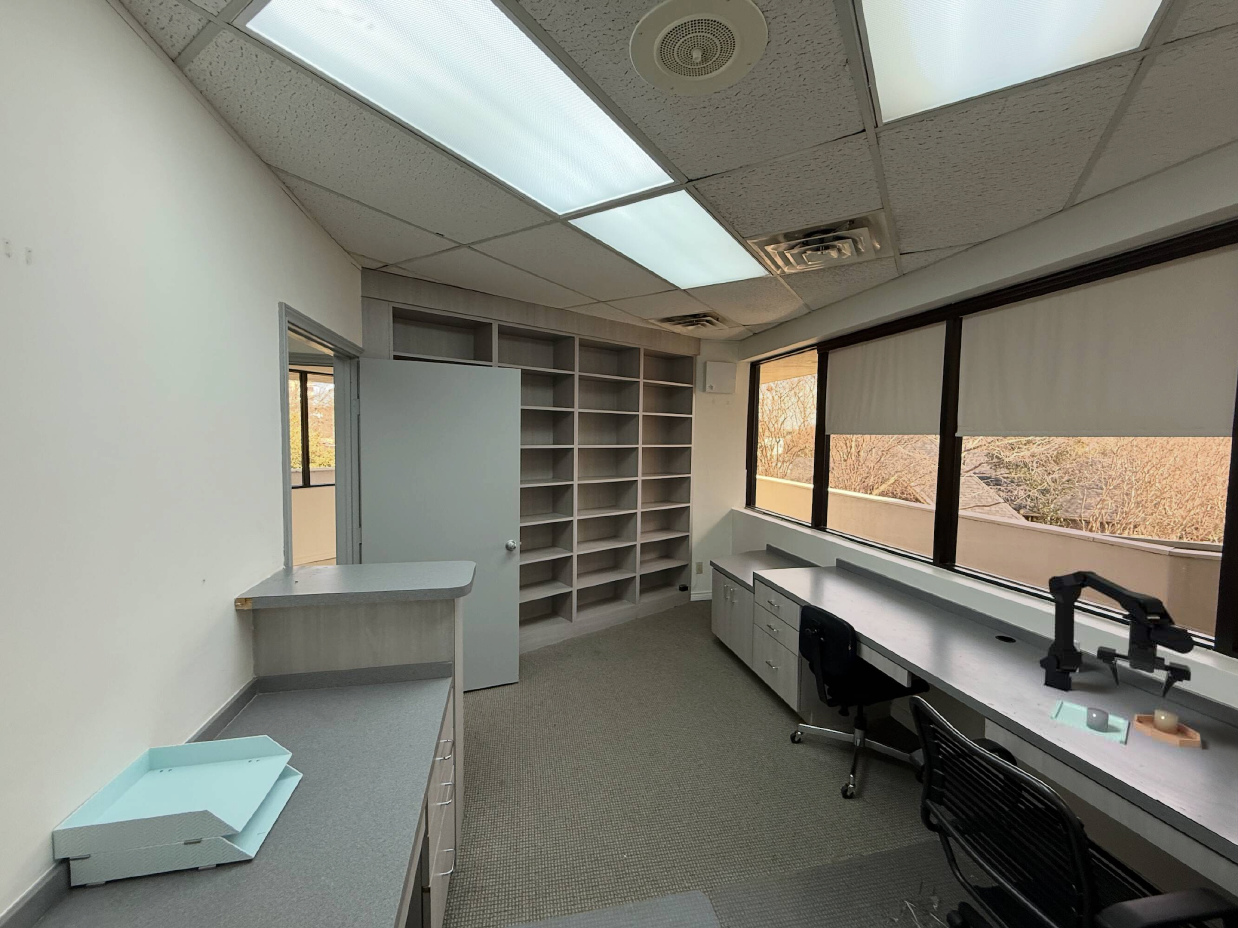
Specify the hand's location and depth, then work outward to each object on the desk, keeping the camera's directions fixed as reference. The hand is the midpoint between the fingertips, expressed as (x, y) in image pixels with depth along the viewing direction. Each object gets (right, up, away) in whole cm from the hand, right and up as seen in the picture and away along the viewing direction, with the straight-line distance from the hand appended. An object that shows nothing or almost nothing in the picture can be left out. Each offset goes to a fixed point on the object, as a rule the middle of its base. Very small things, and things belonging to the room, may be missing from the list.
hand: (1139, 690), depth 144 cm
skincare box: (+16, -11, +41) cm, 45 cm away
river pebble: (+8, -12, 0) cm, 14 cm away
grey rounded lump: (-12, -12, +1) cm, 17 cm away
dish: (+6, -13, -1) cm, 14 cm away
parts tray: (-11, -12, +5) cm, 17 cm away
